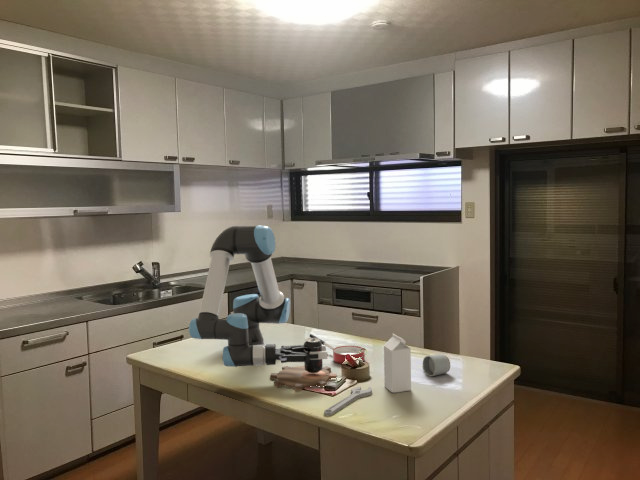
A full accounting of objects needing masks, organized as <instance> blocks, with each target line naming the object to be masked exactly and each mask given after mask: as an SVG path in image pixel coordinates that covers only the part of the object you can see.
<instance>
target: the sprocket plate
mask: <svg viewBox="0 0 640 480" xmlns="http://www.w3.org/2000/svg"><path fill="white" fill-rule="evenodd" d="M331 372H332V367H330V366H324V367H323V368H322V370H321V371H320V372H318V373H309V372H307V371H306V370H305V367H304V365H298V366H297V365H296V366H292V367H290V366H288V365H286V366H282V367H281V370H280V371H279V372H271V373H270V375H269V377H270V378H269V379H270V380H274V381H273V386H274V387H276V388H281V387H283V386H284V387H287V388H292V389H294V391H295V392H296V391H298V392H302V391H303V389H306V388H305V387H310V386H316V385H317V386H316V387H318V386H320V387H323V386H325V385H326V384H327V383H328V382H329V381H330V380H329V379H331V378H336V377H337V374H338V373H331ZM336 379H337V378H336ZM328 380H329V381H328ZM327 381H328V382H327ZM320 387H319V388H320ZM310 388H311V387H310ZM323 388H324V387H323Z"/></svg>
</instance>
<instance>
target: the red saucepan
mask: <svg viewBox="0 0 640 480" xmlns="http://www.w3.org/2000/svg"><path fill="white" fill-rule="evenodd" d="M309 338H318V337H317V336H316V335H314V334H312V333H310V334H309ZM319 339H320V342H321V343H322V346H325V345H326V348H328V349H330V350H332V355H333V356H332V359H333V362H334V363H336V364H339V365H343V364H342V363H343V362H344V361H345V356H346V354H350V355H351V356H353V357H355V358H359V357H362V356H363V357H362V358H361V359H362V360H364V361H365V358H366V357H365V348H364V347H362V346H357V345H341V346H336V347H334V346H332V345H330V344H328V343H327V342H326V341H325V340H323V339H321V338H319ZM361 349H363V350H362V351H361V353H359V351H360V350H361ZM358 353H359V354H358Z"/></svg>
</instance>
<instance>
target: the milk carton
mask: <svg viewBox="0 0 640 480" xmlns="http://www.w3.org/2000/svg"><path fill="white" fill-rule="evenodd" d="M391 335H392V336H391V337H390V338H389V340H387V342H385V344H384V345H383V367H384V368H383V375H384V376H383V377H384V380H383V382H384V387H385V388H386V389H387V390H389V392H391V393H392V394H393V393H394V394H395V393H400V392H401V393H402V392H407V391H412V369H411V368H412V363H411V362H412V361H411V360H412V359H411V357H412V355H411V351H412V350H411V347H409V346H408V345H406V342H407V341H406V340H405V339H404V338H402V337H400V336H398V335H396V334H394V333H392V334H391Z"/></svg>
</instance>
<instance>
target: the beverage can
mask: <svg viewBox="0 0 640 480" xmlns="http://www.w3.org/2000/svg"><path fill="white" fill-rule="evenodd" d="M320 339H321V338H319V337H317V338H310V337H309V338H305V340H304V341H305V342H304V343H303V345H304V353H309V354H310V352H320V351H322V346H323V345H322V343H321V342H320ZM303 364H304V365H303V366H304V367H305V370H306V371H307V372H309V373H318V372H320V371H321V370H322V368H323V359H315V360H310V362H303Z"/></svg>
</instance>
